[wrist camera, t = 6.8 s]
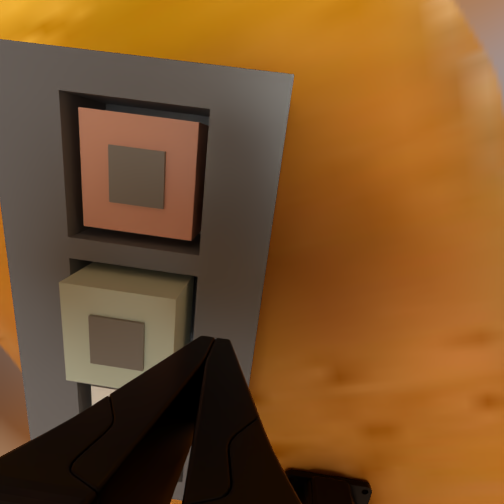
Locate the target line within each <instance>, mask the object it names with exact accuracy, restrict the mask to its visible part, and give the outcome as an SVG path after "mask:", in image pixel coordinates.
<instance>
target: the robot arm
mask: <svg viewBox="0 0 504 504" xmlns="http://www.w3.org/2000/svg"><path fill="white" fill-rule="evenodd" d="M190 448H191V451H190ZM189 451H190V457H189V463H188V469H187V476H186V482H185V488H184V494H183V500H182V504H368V502H369V500H370V497H371V494H372V490H371V487H370V484H369V483H367V482H363V481H357V480H351V479H345V478H339V477H333V476H327V475H320V474H314V473H308V472H302V471H296V470H287V471H286V472H284V471H283V469H282V467H281V465H280V463H279V461H278V459H277V457H276V455H275V453H274V451H273V449H272V446H271V444H270V442H269V439H268V437H267V435H266V432H265V430H264V427H263V424H262V422H261V420H260V417H259V414H258V412H257V409H256V406H255V404H254V401H253V398H252V396H251V393H250V391H249V388H248V385H247V383H246V380H245V377H244V375H243V372H242V369H241V367H240V364H239V361H238V359H237V356H236V353H235V351H234V348H233V346H232V343H231V341H230V340H229V339H224V338H216V339H215V338H214V337H209V336H199V337H198V338H196V339H195V340H193V341H192V342H190V343H189V344H187V345H185V346H184V347H182V348H181V349H179V350H178V351H176V352H175V353H173V354H172V355H170V356H168V357H167V358H165V359H164V360H162V361H161V362H159V363H158V364H156V365H154V366H153V367H151V368H150V369H148V370H147V371H145V372H144V373H142V374H140V375H139V376H137V377H136V378H134V379H133V380H131V381H130V382H128V383H126V384H125V385H123V386H122V387H120V388H119V389H117V390H116V391H114V392H112V393H111V394H110V396H106V397H105V398H103V399H101V400H100V401H98V402H97V403H95V404H94V405H92V406H90V407H89V408H87V409H85V410H84V411H82V412H81V413H79V414H77V415H76V416H74V417H72V418H71V419H69V420H67V421H65V422H63V423H62V424H60V425H58V426H56V427H55V428H53V429H51V430H49V431H47V432H46V433H44V434H42V435H40V436H38V437H36V438H34V439H33V440H31V441H29V442H27V443H25V444H23V445H21V446H19V447H18V448H16V449H14V450H12V451H10V452H8V453H6V454H5V455H3V456H1V457H0V504H170V502H171V499H172V497H173V494H174V491H175V488H176V486H177V483H178V480H179V478H180V475H181V472H182V470H183V467H184V464H185V461H186V459H187V456H188V453H189Z"/></svg>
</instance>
